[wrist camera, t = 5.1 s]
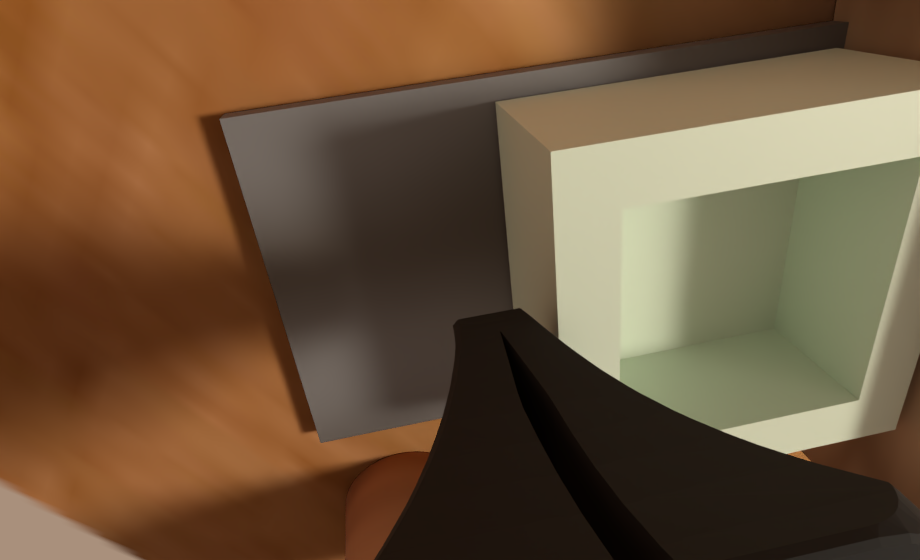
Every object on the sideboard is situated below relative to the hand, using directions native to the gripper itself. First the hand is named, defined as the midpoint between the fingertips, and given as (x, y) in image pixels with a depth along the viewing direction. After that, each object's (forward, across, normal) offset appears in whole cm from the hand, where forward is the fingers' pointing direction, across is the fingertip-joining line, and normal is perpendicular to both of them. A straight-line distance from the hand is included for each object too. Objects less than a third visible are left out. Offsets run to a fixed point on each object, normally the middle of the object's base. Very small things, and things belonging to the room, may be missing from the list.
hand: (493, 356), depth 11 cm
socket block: (+4, -5, 0) cm, 6 cm away
